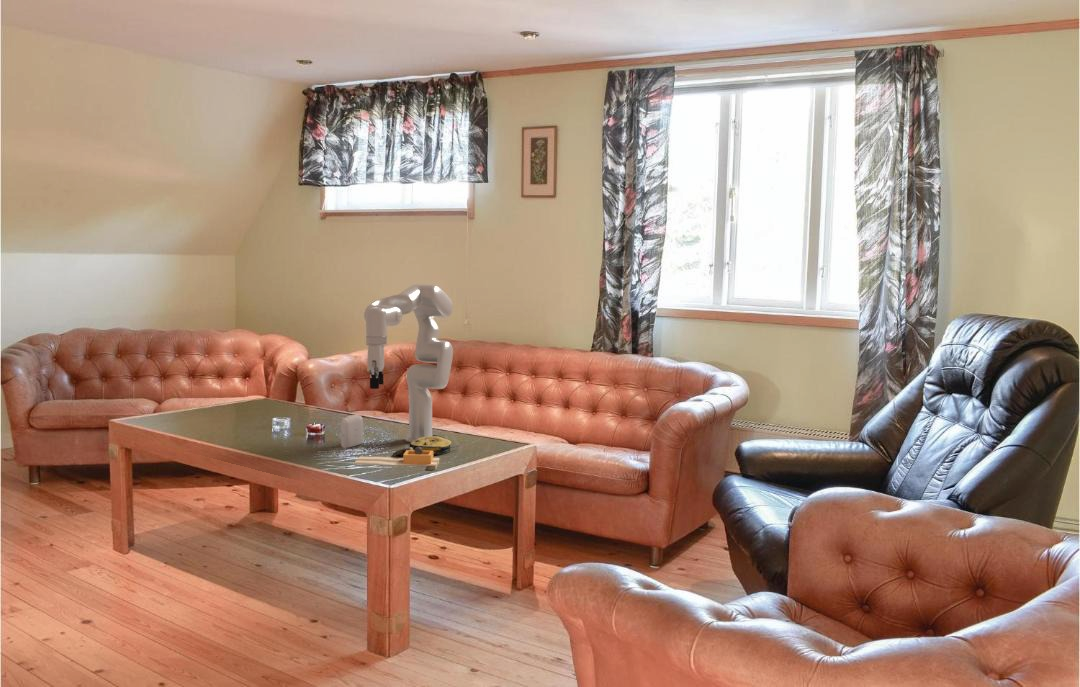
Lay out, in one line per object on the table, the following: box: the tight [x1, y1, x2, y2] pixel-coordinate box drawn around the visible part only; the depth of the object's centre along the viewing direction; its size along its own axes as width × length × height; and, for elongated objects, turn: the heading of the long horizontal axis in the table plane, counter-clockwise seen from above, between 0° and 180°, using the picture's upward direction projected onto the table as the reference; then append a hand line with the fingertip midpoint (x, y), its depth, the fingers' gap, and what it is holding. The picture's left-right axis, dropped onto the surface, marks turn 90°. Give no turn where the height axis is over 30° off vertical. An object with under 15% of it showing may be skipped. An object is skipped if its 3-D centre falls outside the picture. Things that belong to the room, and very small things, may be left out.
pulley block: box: [392, 434, 459, 457], centre depth 342 cm, size 14×6×30 cm
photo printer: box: [340, 414, 364, 449], centre depth 354 cm, size 10×4×12 cm, turn 150°
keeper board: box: [352, 447, 440, 471], centre depth 324 cm, size 12×30×7 cm, turn 90°
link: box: [402, 450, 434, 464], centre depth 325 cm, size 7×10×3 cm
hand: (376, 386), depth 329 cm, fingers open, 9 cm apart
